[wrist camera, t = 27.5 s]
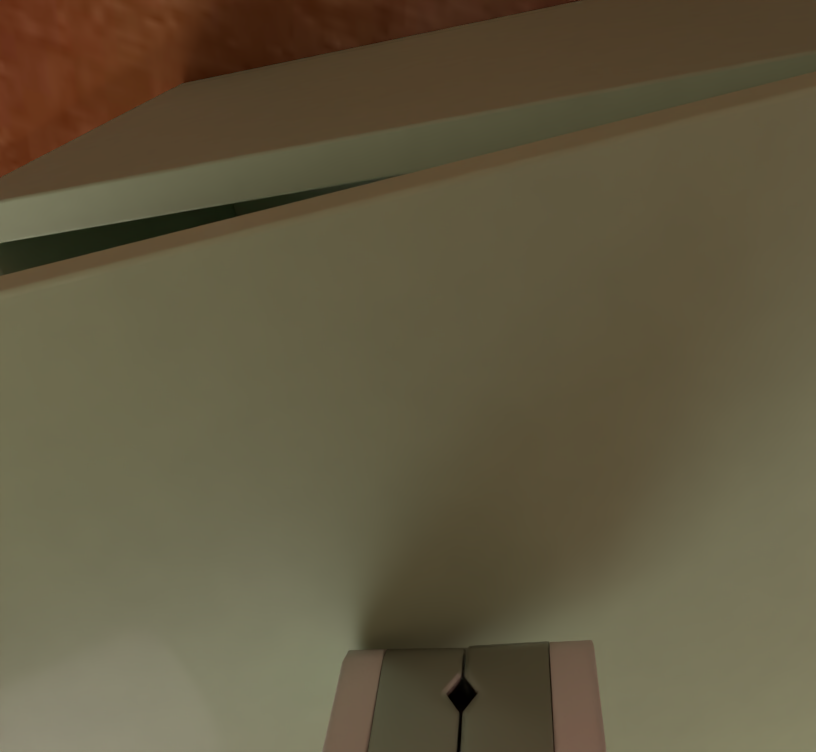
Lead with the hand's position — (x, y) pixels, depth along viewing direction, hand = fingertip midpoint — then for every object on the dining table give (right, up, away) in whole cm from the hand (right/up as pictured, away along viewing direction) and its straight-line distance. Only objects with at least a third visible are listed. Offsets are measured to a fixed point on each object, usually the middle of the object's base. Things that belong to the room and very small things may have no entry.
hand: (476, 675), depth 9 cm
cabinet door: (0, +1, +1) cm, 1 cm away
